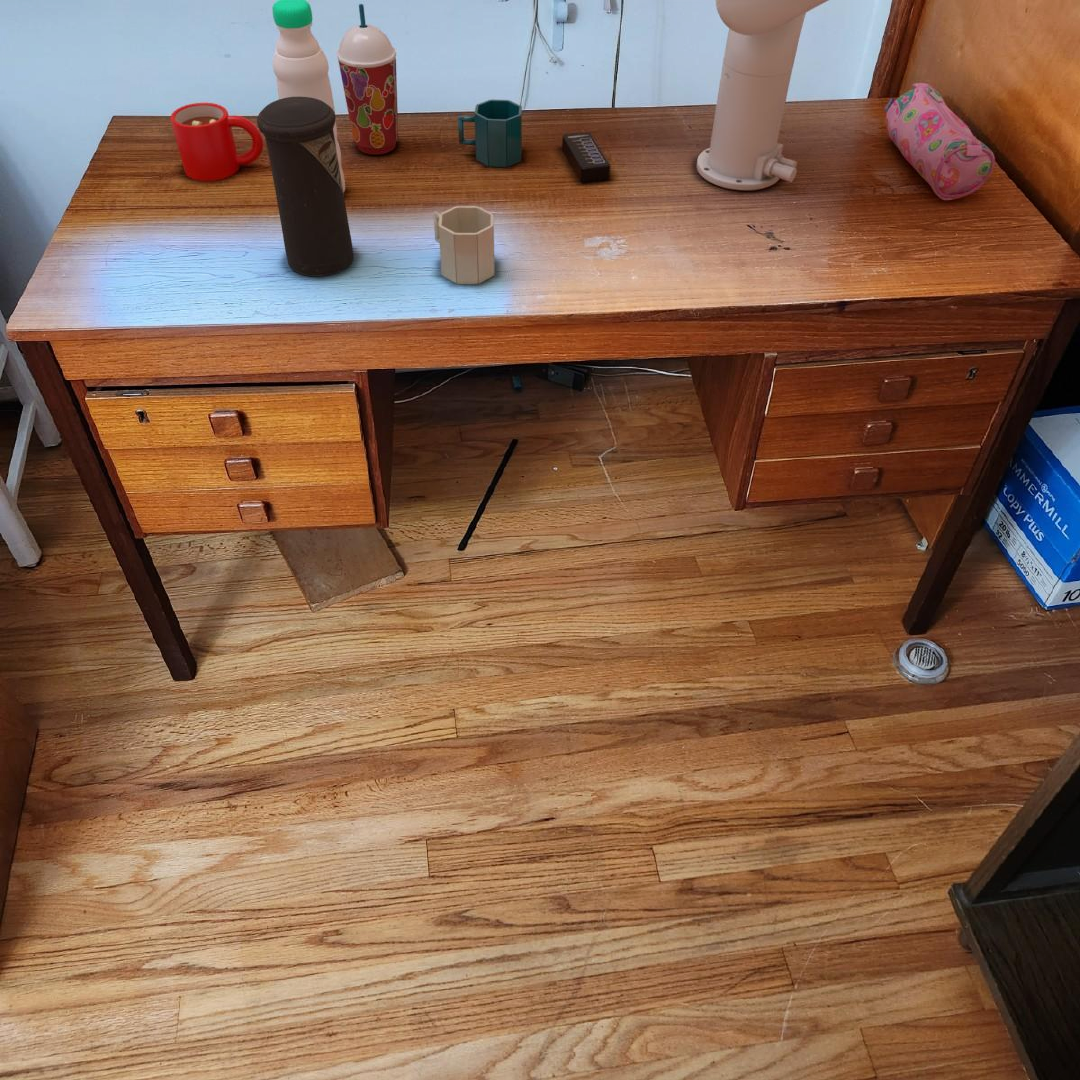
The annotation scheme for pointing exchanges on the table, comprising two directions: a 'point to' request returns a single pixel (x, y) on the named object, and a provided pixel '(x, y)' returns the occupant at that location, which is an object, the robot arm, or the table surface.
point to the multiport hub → (585, 157)
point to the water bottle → (301, 59)
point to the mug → (211, 141)
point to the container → (307, 184)
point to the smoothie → (370, 87)
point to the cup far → (495, 132)
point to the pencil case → (938, 143)
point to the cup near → (465, 244)
